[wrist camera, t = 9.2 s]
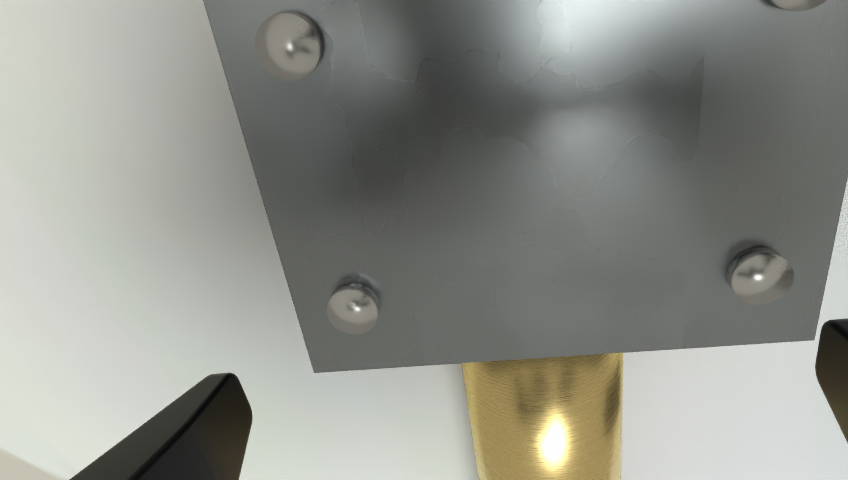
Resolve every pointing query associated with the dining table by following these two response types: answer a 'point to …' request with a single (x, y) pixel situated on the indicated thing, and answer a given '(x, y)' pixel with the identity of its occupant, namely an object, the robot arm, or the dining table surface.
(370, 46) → the block
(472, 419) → the gold cylindrical piece
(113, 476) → the robot arm
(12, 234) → the dining table surface
